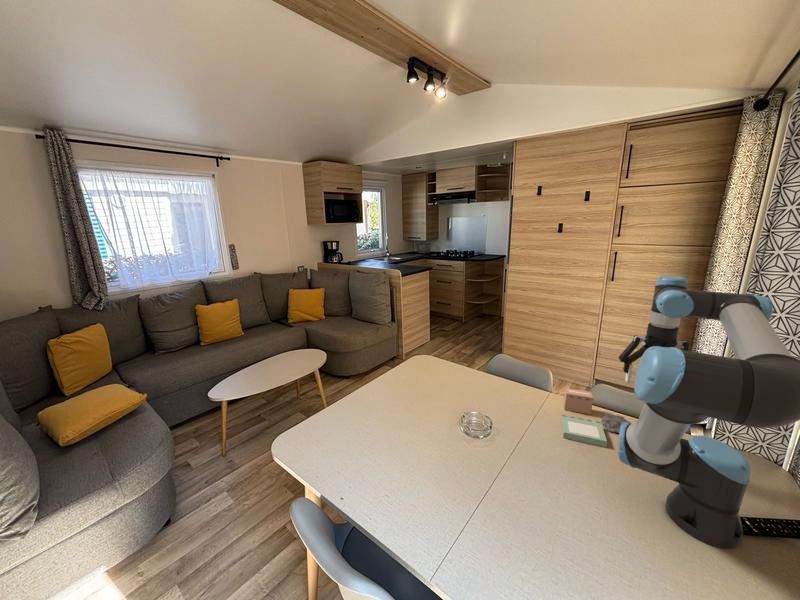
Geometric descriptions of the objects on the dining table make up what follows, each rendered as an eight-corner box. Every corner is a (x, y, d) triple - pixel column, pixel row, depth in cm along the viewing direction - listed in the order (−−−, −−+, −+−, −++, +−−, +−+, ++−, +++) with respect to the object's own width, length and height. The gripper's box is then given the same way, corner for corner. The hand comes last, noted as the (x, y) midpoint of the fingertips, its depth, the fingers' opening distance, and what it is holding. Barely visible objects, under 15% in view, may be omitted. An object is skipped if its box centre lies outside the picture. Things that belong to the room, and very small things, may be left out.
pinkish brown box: (590, 414, 133) (593, 397, 131) (564, 409, 136) (566, 393, 134) (588, 408, 137) (591, 391, 135) (563, 403, 141) (565, 387, 139)
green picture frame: (606, 447, 114) (607, 441, 113) (563, 437, 119) (563, 431, 118) (599, 427, 124) (600, 422, 124) (560, 419, 130) (561, 414, 129)
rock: (632, 427, 124) (634, 419, 123) (619, 438, 119) (621, 428, 118) (608, 416, 131) (609, 408, 130) (595, 426, 126) (596, 417, 125)
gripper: (708, 325, 98) (694, 386, 103) (614, 317, 107) (605, 373, 112) (721, 333, 91) (705, 397, 96) (619, 323, 101) (610, 383, 106)
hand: (651, 384), depth 104 cm, fingers open, 13 cm apart
